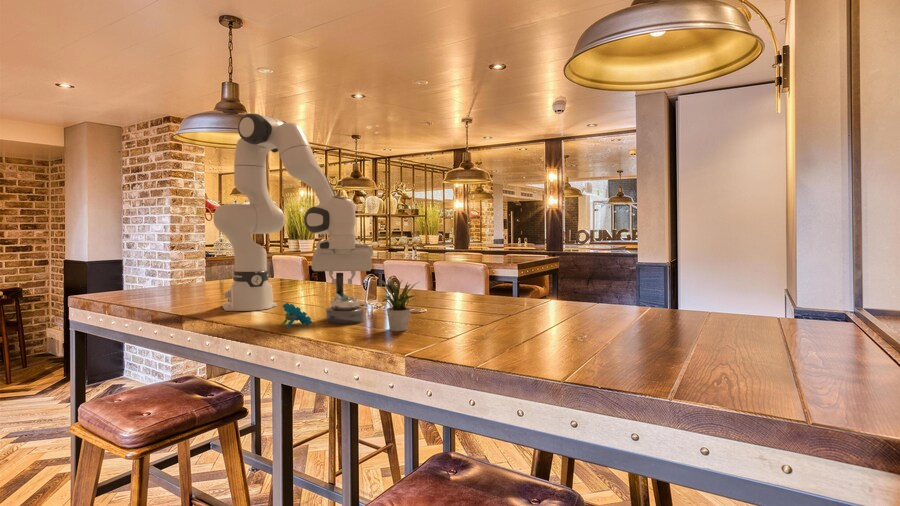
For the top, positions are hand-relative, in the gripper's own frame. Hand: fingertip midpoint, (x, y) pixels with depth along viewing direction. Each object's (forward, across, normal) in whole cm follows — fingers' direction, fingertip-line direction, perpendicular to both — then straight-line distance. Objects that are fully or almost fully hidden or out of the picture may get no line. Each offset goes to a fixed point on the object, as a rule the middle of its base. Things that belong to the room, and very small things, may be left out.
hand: (342, 284), depth 167 cm
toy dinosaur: (+12, +14, +15) cm, 23 cm away
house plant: (+11, -14, +26) cm, 32 cm away
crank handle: (+7, 0, +6) cm, 9 cm away
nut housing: (+11, -1, +10) cm, 15 cm away
